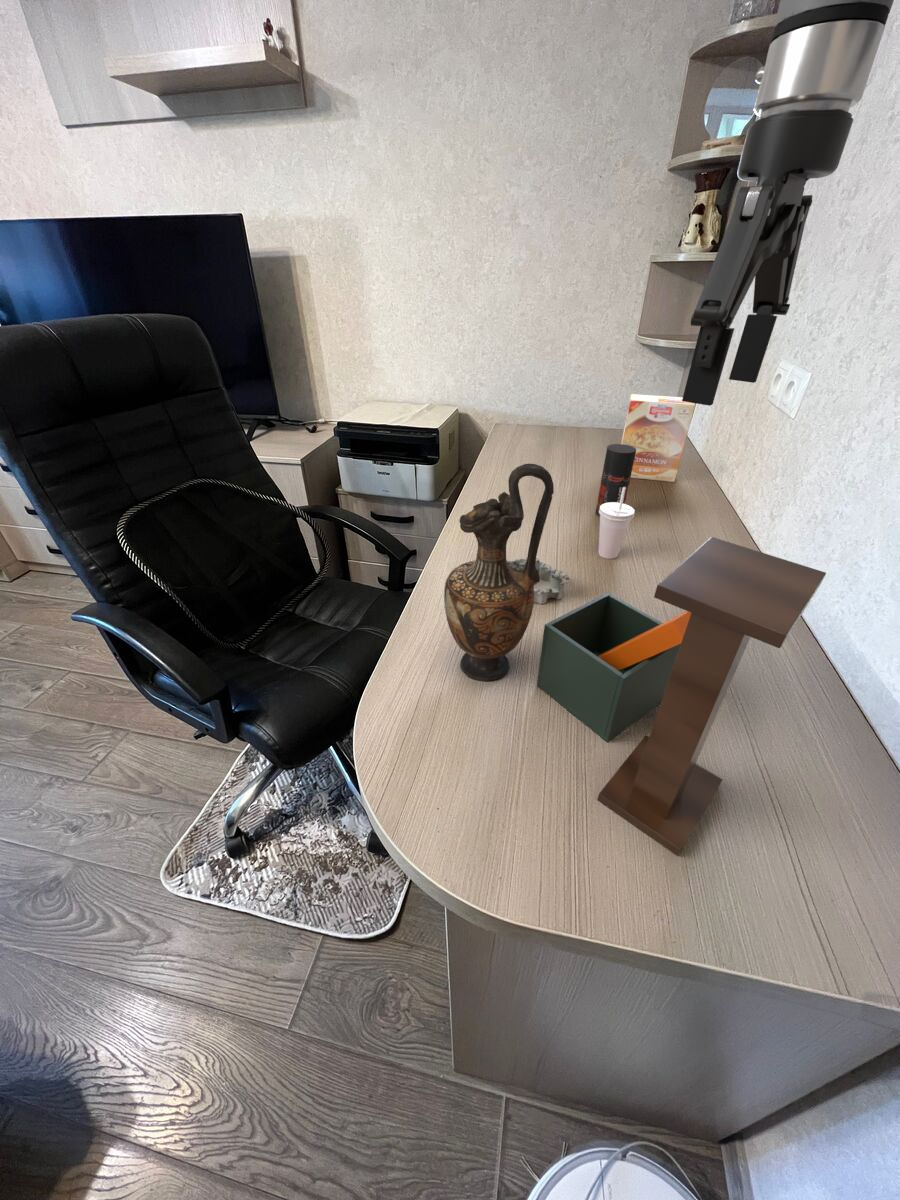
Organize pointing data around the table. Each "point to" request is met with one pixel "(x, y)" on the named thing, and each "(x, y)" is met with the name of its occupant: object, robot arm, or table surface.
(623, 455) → the deodorant
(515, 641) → the vase
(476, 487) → the table surface
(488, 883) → the table surface
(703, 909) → the table surface
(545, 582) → the egg carton
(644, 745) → the stand
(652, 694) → the trash bin
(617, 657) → the block
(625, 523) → the smoothie
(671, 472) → the coffeecake box
